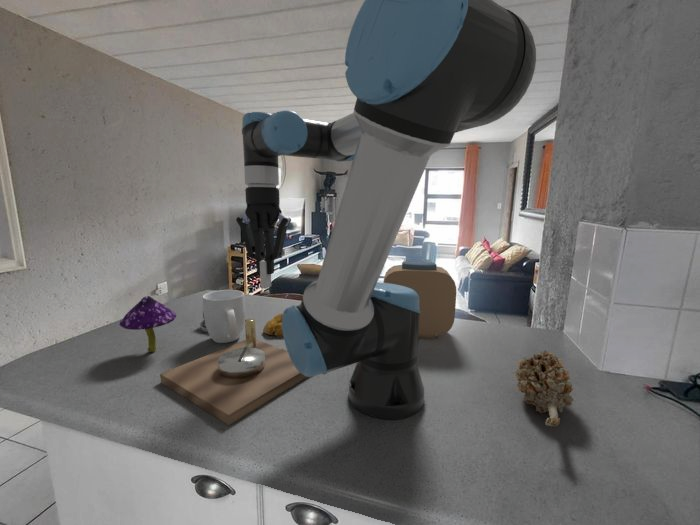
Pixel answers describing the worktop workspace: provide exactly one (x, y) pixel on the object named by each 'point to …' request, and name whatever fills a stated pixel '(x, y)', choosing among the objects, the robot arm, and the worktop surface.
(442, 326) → the alarm clock
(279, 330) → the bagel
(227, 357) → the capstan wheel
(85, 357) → the worktop surface
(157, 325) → the decorative mushroom
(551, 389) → the morel mushroom
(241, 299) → the mug
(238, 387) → the base plate
